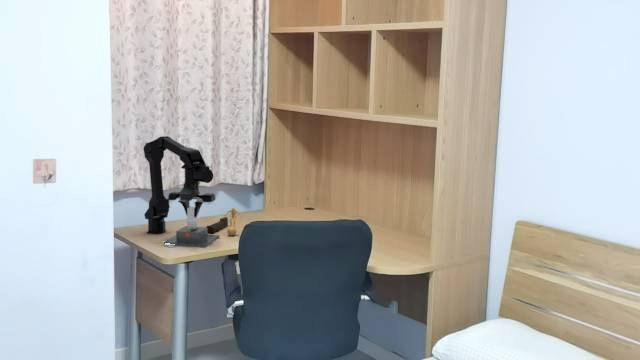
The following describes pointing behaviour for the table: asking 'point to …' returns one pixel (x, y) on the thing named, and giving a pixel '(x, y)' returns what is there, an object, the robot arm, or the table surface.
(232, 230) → the figurine
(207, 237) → the stand
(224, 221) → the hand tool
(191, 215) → the column
